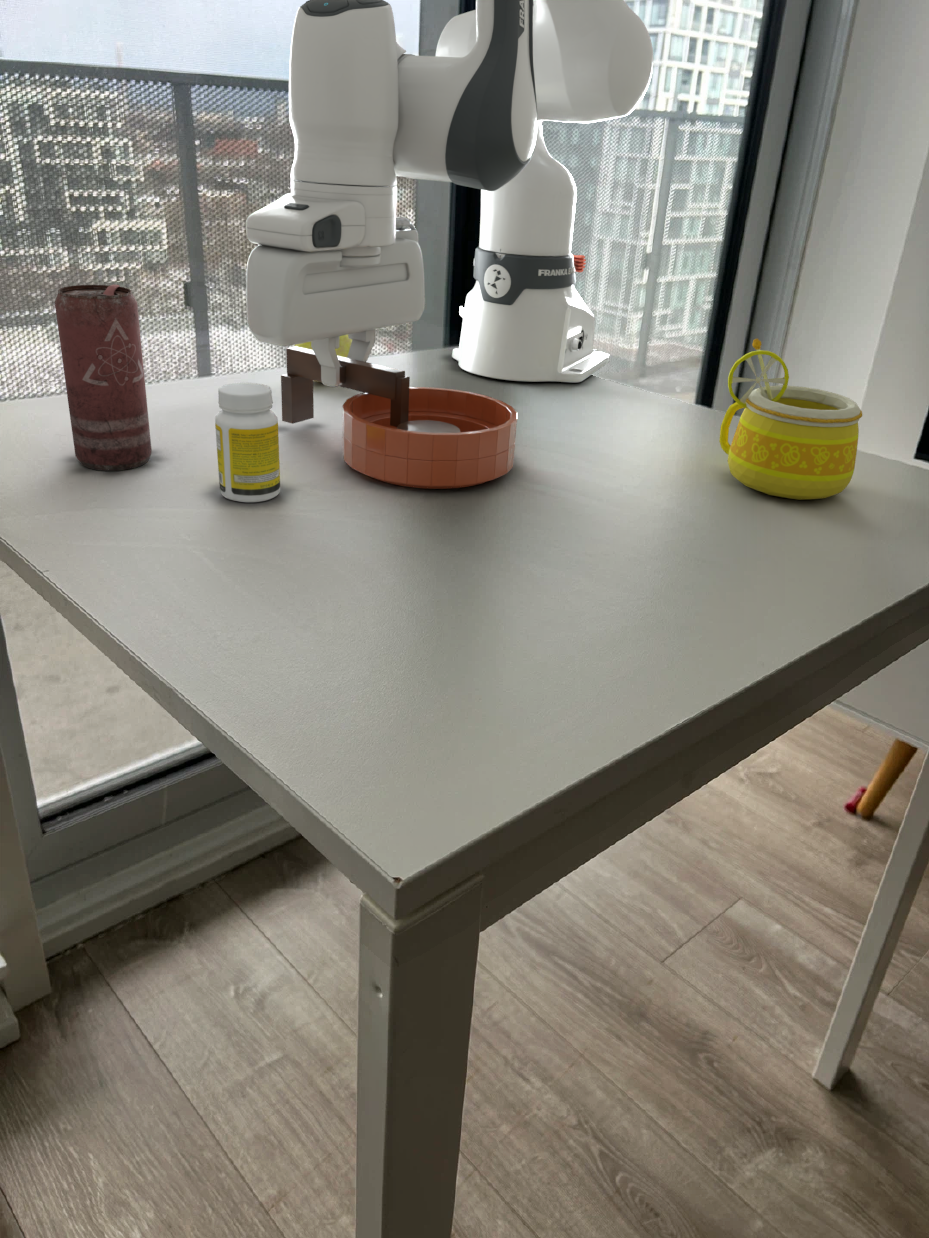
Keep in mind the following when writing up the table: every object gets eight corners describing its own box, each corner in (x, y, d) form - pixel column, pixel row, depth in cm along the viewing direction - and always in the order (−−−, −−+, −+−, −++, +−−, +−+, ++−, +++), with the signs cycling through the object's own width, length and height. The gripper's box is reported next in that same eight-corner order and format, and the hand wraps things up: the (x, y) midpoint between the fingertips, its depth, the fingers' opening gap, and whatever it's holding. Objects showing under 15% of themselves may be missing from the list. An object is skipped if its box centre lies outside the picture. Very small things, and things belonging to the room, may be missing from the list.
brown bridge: (471, 455, 85) (476, 379, 82) (434, 469, 81) (438, 390, 77) (312, 412, 94) (311, 343, 91) (272, 423, 90) (269, 351, 86)
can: (164, 451, 83) (149, 285, 77) (134, 475, 77) (116, 297, 71) (97, 445, 83) (77, 279, 77) (63, 468, 78) (38, 291, 71)
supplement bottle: (293, 493, 76) (290, 389, 72) (250, 508, 72) (244, 400, 68) (250, 479, 78) (245, 377, 74) (207, 493, 75) (199, 387, 71)
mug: (868, 490, 85) (905, 356, 80) (811, 516, 78) (846, 371, 73) (744, 453, 93) (770, 329, 87) (682, 474, 86) (705, 340, 81)
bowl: (411, 429, 94) (413, 378, 91) (543, 463, 87) (548, 409, 84) (307, 464, 82) (306, 408, 80) (449, 507, 75) (452, 446, 73)
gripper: (390, 212, 89) (386, 359, 96) (229, 220, 74) (238, 394, 80) (444, 219, 86) (437, 371, 93) (288, 228, 71) (293, 409, 77)
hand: (343, 382), depth 86 cm, fingers closed on brown bridge
